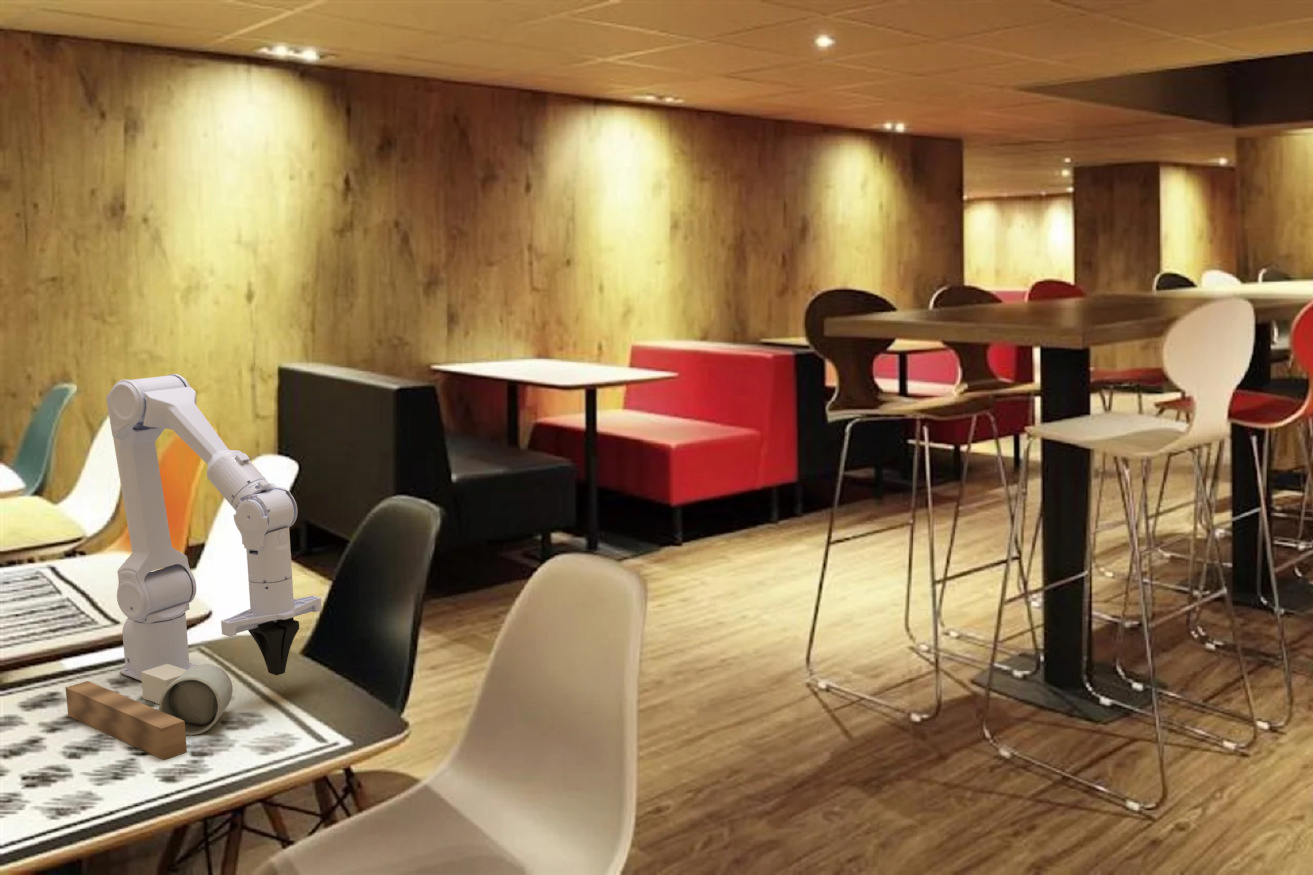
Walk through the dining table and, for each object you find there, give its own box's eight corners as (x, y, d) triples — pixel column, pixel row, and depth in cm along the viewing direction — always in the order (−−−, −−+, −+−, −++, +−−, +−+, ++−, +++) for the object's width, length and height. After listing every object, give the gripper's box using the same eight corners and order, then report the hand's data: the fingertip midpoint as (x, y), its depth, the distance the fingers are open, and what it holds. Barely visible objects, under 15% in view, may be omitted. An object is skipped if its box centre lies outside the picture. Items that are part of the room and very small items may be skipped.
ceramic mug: (237, 710, 158) (232, 655, 157) (222, 734, 150) (217, 676, 149) (156, 716, 157) (150, 661, 156) (136, 740, 149) (130, 682, 148)
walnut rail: (68, 715, 157) (65, 687, 156) (90, 709, 159) (87, 680, 158) (164, 760, 142) (161, 728, 142) (186, 751, 145) (184, 720, 144)
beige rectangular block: (143, 699, 163) (140, 671, 162) (169, 690, 166) (167, 663, 165) (167, 708, 159) (165, 680, 159) (194, 699, 163) (192, 671, 162)
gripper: (239, 594, 152) (246, 694, 154) (332, 570, 163) (337, 663, 165) (209, 586, 156) (217, 683, 158) (302, 563, 168) (307, 654, 170)
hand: (276, 672), depth 162 cm, fingers closed
